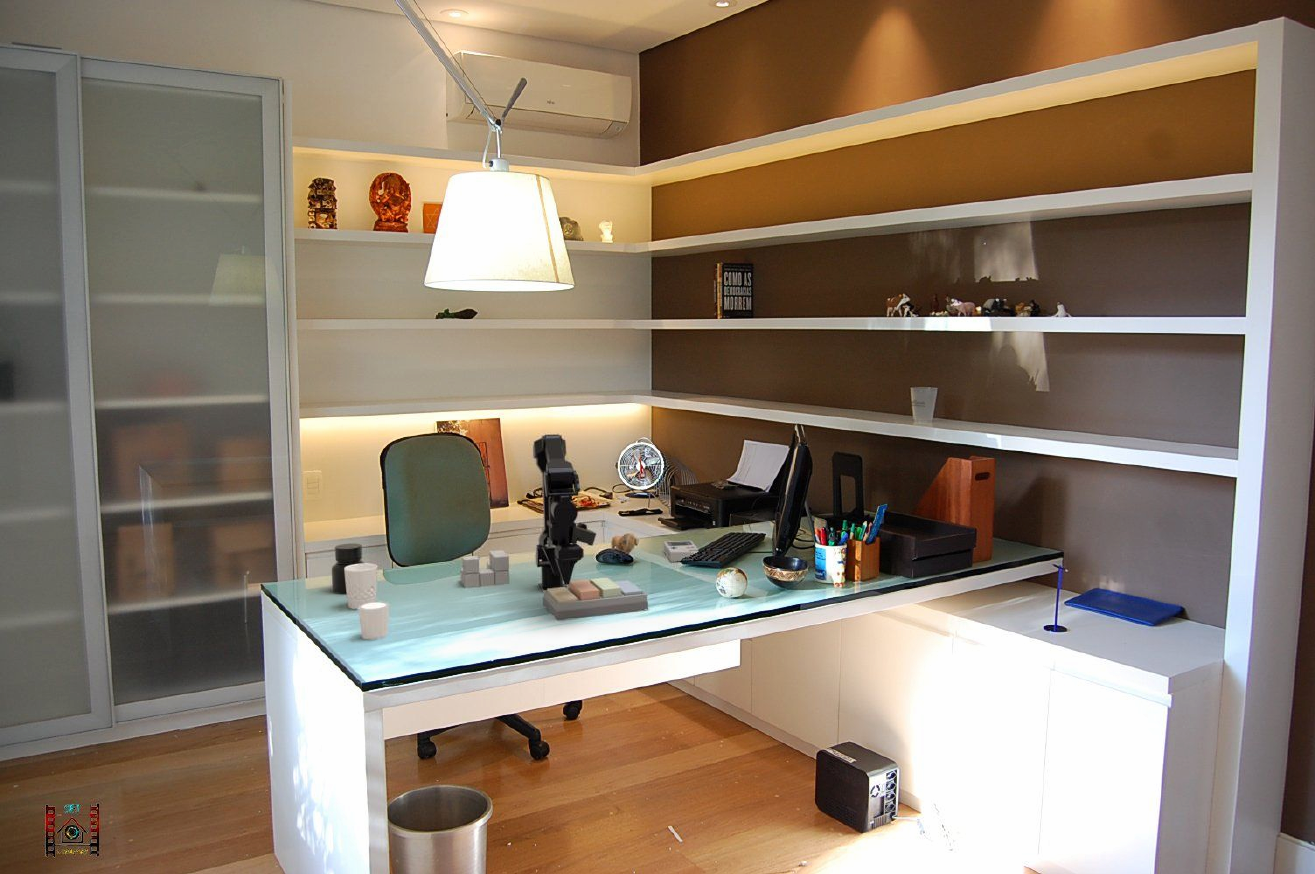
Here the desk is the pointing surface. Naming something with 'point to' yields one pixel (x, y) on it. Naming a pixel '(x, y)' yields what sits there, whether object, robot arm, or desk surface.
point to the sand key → (561, 595)
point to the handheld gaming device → (679, 550)
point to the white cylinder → (374, 619)
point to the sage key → (606, 587)
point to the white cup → (361, 584)
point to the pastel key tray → (594, 606)
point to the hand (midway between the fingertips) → (561, 579)
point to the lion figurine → (624, 542)
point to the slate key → (628, 588)
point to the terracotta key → (583, 590)
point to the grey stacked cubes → (491, 576)
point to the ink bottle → (344, 564)
